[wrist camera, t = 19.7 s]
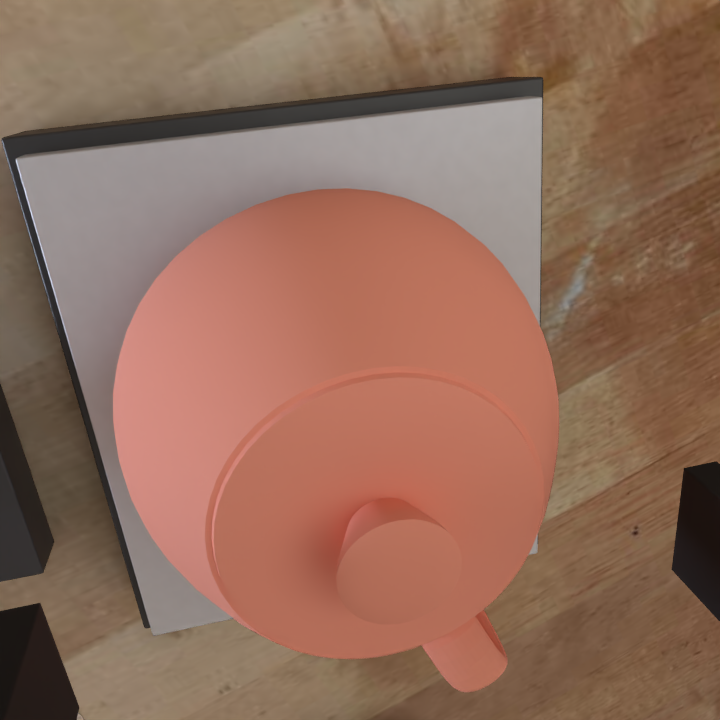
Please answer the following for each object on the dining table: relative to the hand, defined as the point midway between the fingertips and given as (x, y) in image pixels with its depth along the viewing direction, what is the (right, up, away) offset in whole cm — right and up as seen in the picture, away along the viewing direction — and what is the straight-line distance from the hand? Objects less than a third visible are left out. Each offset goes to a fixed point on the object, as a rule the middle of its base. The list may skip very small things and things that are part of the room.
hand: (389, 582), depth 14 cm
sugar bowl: (-1, +4, +9) cm, 10 cm away
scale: (-2, +5, +12) cm, 13 cm away
